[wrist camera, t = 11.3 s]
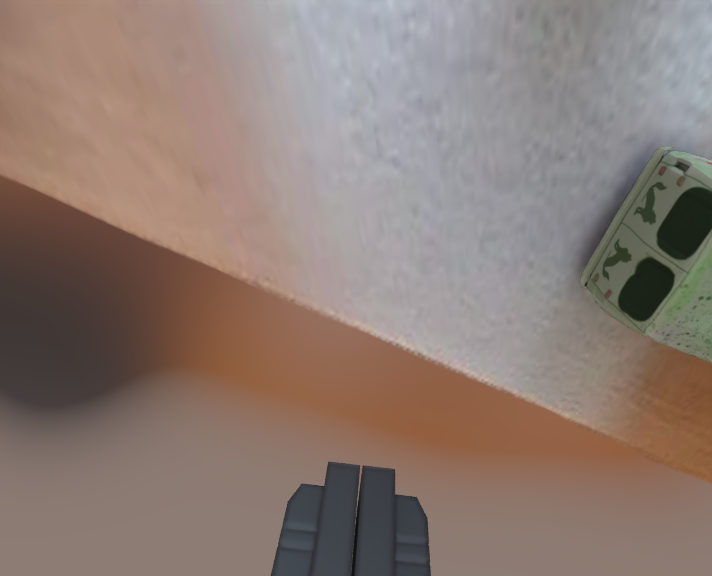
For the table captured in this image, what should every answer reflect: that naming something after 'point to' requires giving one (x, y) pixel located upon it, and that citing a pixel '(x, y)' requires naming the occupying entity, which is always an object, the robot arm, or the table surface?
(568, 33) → the table surface
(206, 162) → the table surface
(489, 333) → the table surface
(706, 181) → the toy car
